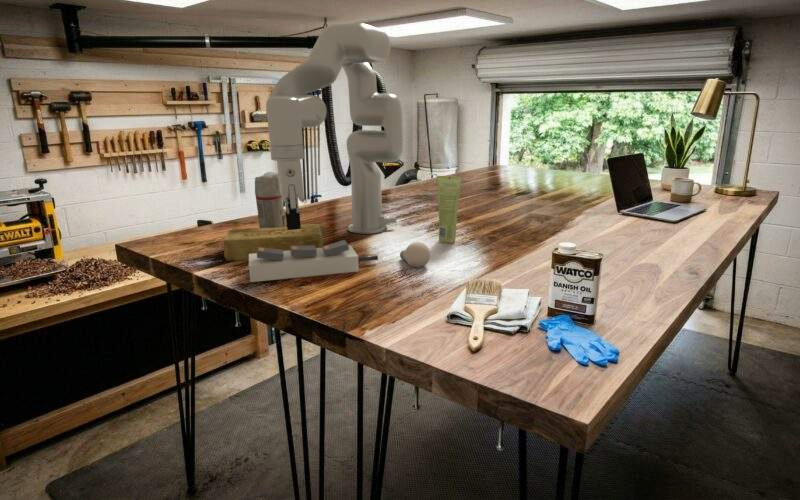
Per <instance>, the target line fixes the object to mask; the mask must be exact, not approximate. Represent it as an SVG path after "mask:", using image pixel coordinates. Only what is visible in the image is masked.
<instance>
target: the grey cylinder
mask: <svg viewBox="0 0 800 500" xmlns="http://www.w3.org/2000/svg"><path fill="white" fill-rule="evenodd" d="M254 195H255V200H256V201H255V202H256V209H257V218H258V224H259V225H258V227H259V229H260V228H280V227H287V225H286V215H285V208H284V202H283V198H282V195H281V190H280V185H279V177H278V172H274V171H268V172H266V173H264V174H262V175H260V176H255V178H254Z"/></svg>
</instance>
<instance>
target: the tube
mask: <svg viewBox="0 0 800 500" xmlns="http://www.w3.org/2000/svg"><path fill="white" fill-rule="evenodd" d="M435 178H436V185H437V186H436V187H437V198H438V199H437V202H438V203H437V204H438V241H439V242H440V243H443V244H444V243H446V244H450V243H455V242H456V236H457V235H456V234H457V222H458V210H459V203H460V201H459V200H460V193H461V188H462V187H461V186H462V182H463V176H446V175H436V177H435Z"/></svg>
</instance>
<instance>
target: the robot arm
mask: <svg viewBox="0 0 800 500" xmlns="http://www.w3.org/2000/svg"><path fill="white" fill-rule="evenodd" d="M390 53H391V41H390V38H389V35H388V33H386V31H385V30H383V29H382V28H378V27H375V26H373V25H370V24H367V23H364V22H363V23H362V22H355V23H354V22H352V23H351V22H350V23H339V24H338V23H335V24H329V25H326V27H324V28H323V29H322V30H321V32H320V34H319V35H318V37H317V39H316V42H315V43H314V45H313V48H312V49H311V51H310V53H309V55H308V57H307V59H306V60H305V61H304V62H301V64H299V65H297V66H296V67H294V68H293V69H291V70H290V71H288V72H287V73H285V75H283V76H282V77H281V78H280V79H279V80H278V81H277V82H276V84H275V85H274V87H273V89H272V91H271V92H270V94H269V96H268V98H267V100H266V102H265V105H266V107H265V108H266V118H267V131H268V137H269V138H268V140H269V150H270V160H271V161H276V165H277V168H276V169H277V173H278V177H279V185H280V190H281V195H282V198H283V204H285V224H286V227H287V229H288V230H295V229H300V228H301V225H302V224H301V214H300V210H299V201H300V202H301V203H304V202H305V200H306V199H305V191H304V181H303V172H302V165H301V160H303V159H305V151H304V149H305V148H304V137H303V128H316V127H319V126H320V125H322V124H323V123H324V121H325V120H326V117H327V113H328V112H327V106H326V104H325V102H324V100H323V99H322V98H321V97H319V96H317V95H314V94H309V93H312V92H315V91H318V90H322V89H324V88H326V87H328V86H330V85H332V84H334V82H335V81H336V80H337V78H338V76H339V74H340V71H341V70H342V68H343V70H344V72H345V75H346V78H347V85H348V86H347V87H348V104H349V114H350V120H351V121H352V123H353V124H355V125H356V126H363V127H364V126H365V127H383V128H384V130H369V129H368V130H367V129H362V130H360V129H359V130H355V131H352V132H351V133H350V134H349V135H348V137H347V140H346V150H347V155H348V160H349V167H350V179H351V180H350V181H351V182H350V185H351V186H350V187H351V189H350V190H351V211H352V212H351V213H352V223H350V224H349V225H348V226H347V229H348V232H351V233H353V234H360V235H361V234H363V235H364V234H365V235H367V234H368V235H369V234H370V235H372V234H378V233H383V232H384V231H386V230H387V227H388V226H387V225H388V223H389V224H393V223H397V217H396V216H390V215H389V216H388V215H387V216H384V215H383V214H382V213H383V212H382V211H383V210H382V204H383V203H382V175H381V171H380V170H379V168H378V167H377V164H376V163H396V162H399V160H400V159H401V157H402V156H403V149H404V147H403V146H404V144H403V141H404V139H403V138H404V137H403V135H404V134H403V108H402V103H401V101H400V99H399V97H398V95H396V94H393V93H388V92H387V93H379V92H378V88H377V87H378V86H377V76H376V75H377V74H376V73H375V71H374V69H373V68H372V66H371V65H370V64H371V63H382V62H385V61H387V59H388V57H389V56H390ZM369 63H370V64H369Z"/></svg>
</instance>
